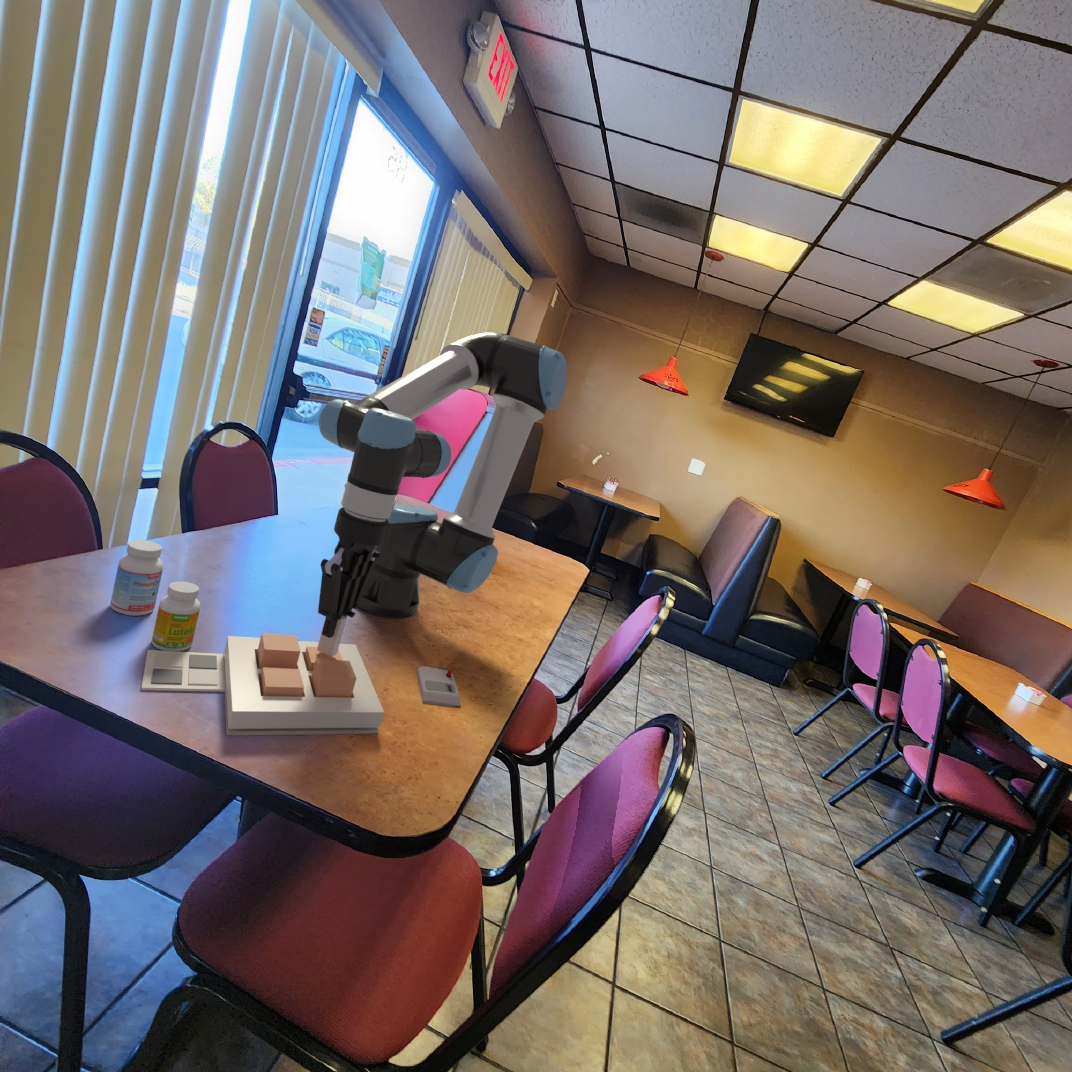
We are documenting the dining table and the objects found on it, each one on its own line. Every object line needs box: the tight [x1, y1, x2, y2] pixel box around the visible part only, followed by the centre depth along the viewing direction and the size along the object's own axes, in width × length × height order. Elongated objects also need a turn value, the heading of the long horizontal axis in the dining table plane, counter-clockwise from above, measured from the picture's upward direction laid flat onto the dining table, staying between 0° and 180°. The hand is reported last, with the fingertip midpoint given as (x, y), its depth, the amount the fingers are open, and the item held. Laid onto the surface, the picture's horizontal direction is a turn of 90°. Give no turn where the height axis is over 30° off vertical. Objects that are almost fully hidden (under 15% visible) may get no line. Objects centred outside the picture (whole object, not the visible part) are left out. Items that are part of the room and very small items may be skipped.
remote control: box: [415, 662, 462, 708], centre depth 104 cm, size 7×16×3 cm, turn 18°
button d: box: [304, 646, 342, 671], centre depth 93 cm, size 5×5×3 cm
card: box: [140, 649, 225, 693], centre depth 85 cm, size 10×10×1 cm
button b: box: [257, 632, 300, 669], centre depth 89 cm, size 5×5×3 cm
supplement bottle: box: [151, 581, 201, 652], centre depth 89 cm, size 5×5×10 cm
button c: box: [311, 659, 357, 698], centre depth 87 cm, size 5×5×3 cm
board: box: [222, 635, 385, 736], centre depth 88 cm, size 20×20×4 cm
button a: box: [259, 667, 304, 697], centre depth 83 cm, size 5×5×3 cm
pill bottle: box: [110, 539, 164, 617], centre depth 95 cm, size 6×6×11 cm
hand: (326, 651), depth 92 cm, fingers closed
